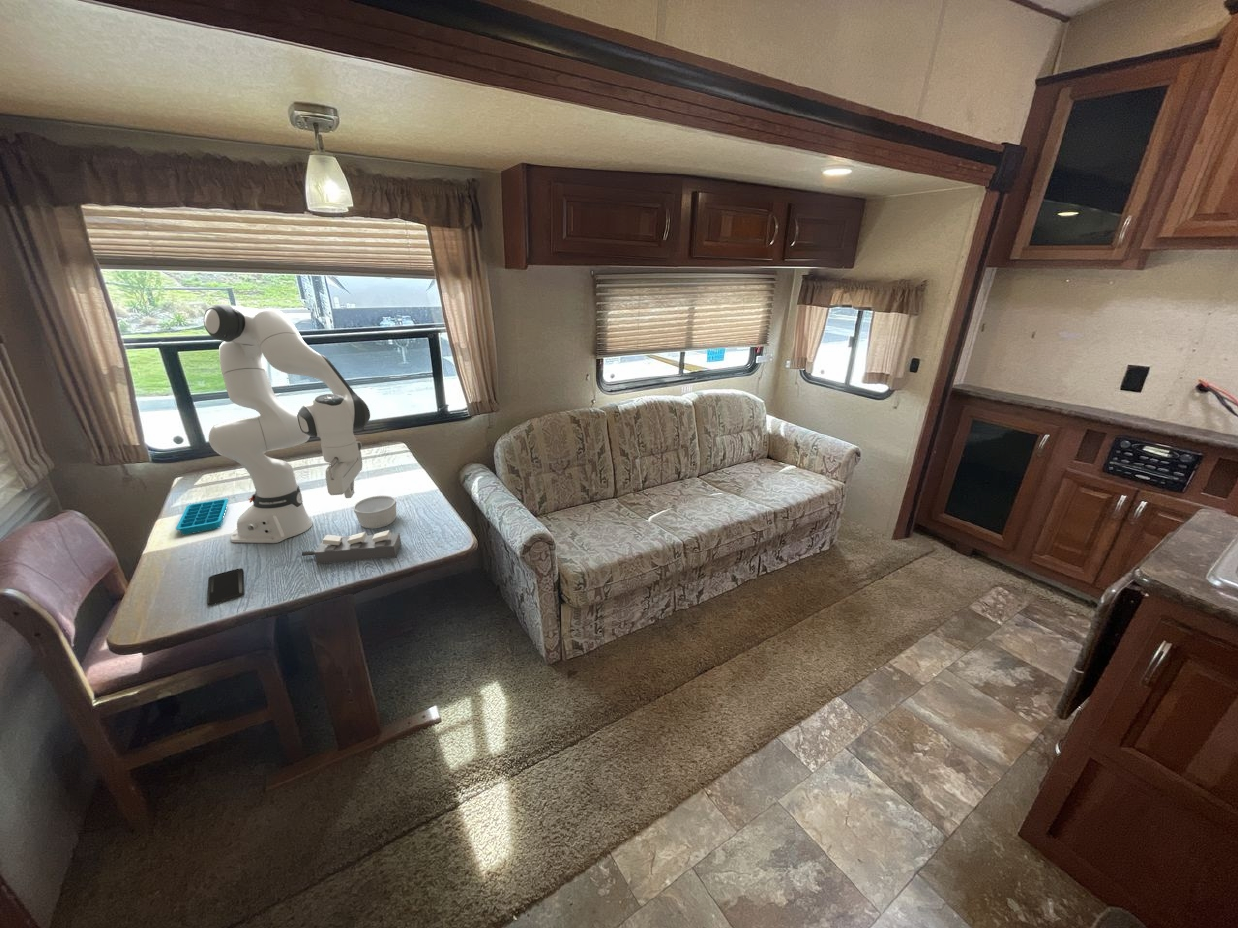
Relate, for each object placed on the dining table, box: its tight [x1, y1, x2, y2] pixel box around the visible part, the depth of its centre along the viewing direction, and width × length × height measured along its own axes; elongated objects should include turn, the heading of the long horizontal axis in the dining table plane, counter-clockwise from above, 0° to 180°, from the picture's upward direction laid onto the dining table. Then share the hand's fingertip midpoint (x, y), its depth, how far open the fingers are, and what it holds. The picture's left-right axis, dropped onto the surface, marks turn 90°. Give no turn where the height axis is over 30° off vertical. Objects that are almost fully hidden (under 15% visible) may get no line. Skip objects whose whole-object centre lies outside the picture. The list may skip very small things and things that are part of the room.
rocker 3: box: [373, 529, 392, 543], centre depth 149 cm, size 4×3×1 cm
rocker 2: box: [348, 531, 368, 545], centre depth 147 cm, size 4×3×1 cm
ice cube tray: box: [175, 498, 229, 536], centre depth 167 cm, size 12×20×3 cm, turn 31°
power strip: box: [301, 532, 402, 565], centre depth 148 cm, size 27×8×5 cm, turn 101°
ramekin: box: [352, 495, 397, 530], centre depth 167 cm, size 13×13×7 cm
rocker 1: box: [322, 534, 343, 545], centre depth 146 cm, size 4×3×1 cm
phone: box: [206, 567, 245, 607], centre depth 133 cm, size 8×1×15 cm
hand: (350, 496), depth 143 cm, fingers closed
